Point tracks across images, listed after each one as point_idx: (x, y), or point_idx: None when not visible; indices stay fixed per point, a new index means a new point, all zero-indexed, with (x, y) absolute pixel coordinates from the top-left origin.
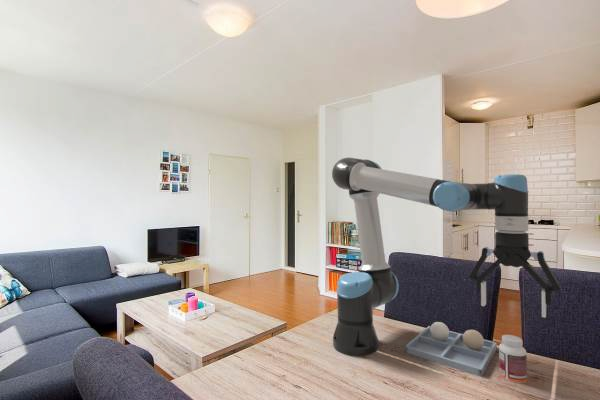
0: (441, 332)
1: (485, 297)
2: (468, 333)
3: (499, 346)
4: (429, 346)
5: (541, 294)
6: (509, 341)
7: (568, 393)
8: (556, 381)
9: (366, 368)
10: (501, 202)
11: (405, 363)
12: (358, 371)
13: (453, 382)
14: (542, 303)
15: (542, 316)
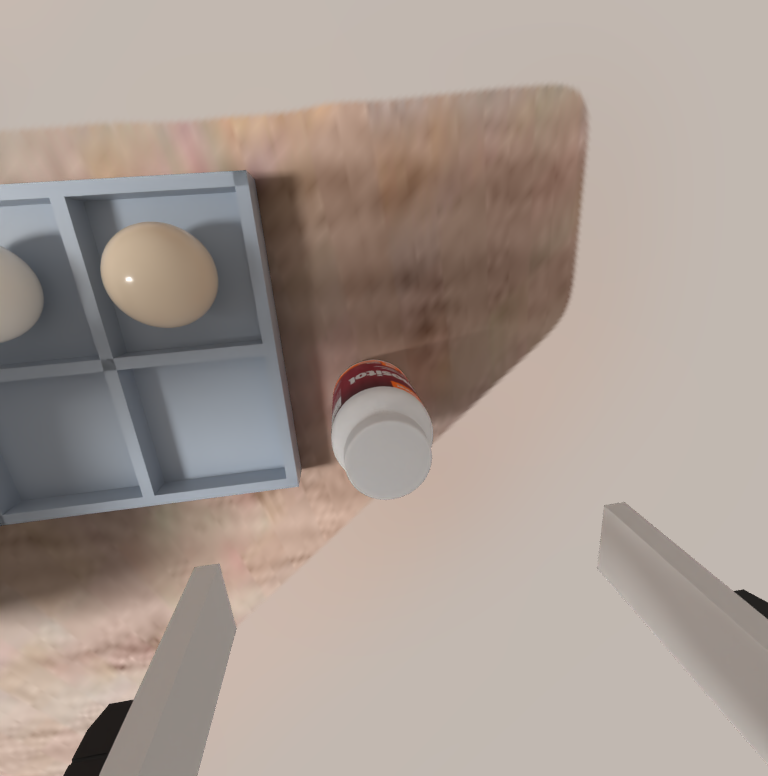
0: (6, 335)
1: (204, 645)
2: (135, 310)
3: (337, 459)
4: (37, 393)
5: (760, 756)
6: (387, 498)
7: (510, 364)
8: (480, 307)
9: (21, 657)
10: None
11: (74, 552)
12: (22, 682)
13: (248, 541)
14: (683, 657)
15: (604, 570)
